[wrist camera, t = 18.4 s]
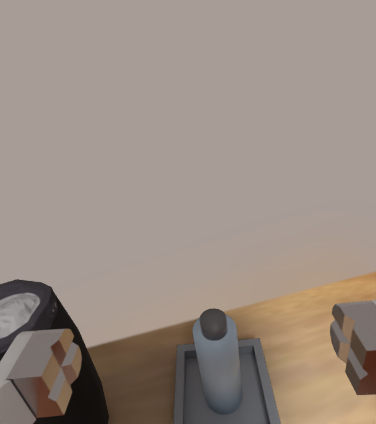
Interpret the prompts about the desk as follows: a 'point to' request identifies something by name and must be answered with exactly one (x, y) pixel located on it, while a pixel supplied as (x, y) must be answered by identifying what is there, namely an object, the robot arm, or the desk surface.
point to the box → (251, 389)
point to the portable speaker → (48, 320)
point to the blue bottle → (218, 360)
